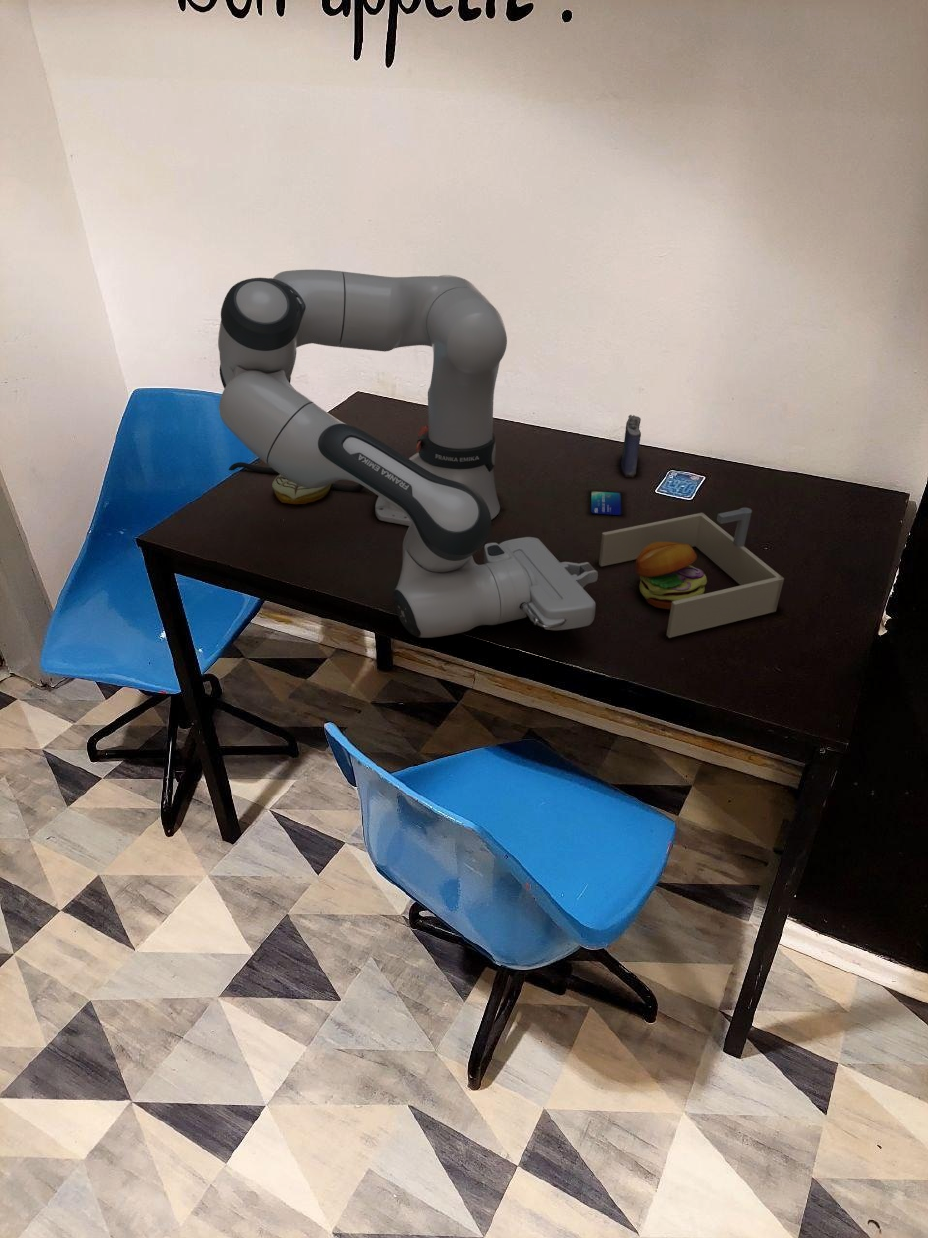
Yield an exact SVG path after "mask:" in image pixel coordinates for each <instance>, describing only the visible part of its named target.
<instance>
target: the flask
mask: <svg viewBox="0 0 928 1238" xmlns="http://www.w3.org/2000/svg"><path fill="white" fill-rule="evenodd" d="M641 421H642V418H641V417H639V416H636V415H634V414H633V415H632V414H629V415H628V419H627V421H626V423H625V429H624V430H625V432H624V439H623V449H622V455H621V462H620V468H621V473H622V474H623V476H624V477H627V478H634V477H635V476H636V475H637V465H638V460H639V459H638V457H639V449H640V444H641V437H642V432H641V430H640V425H641Z"/></svg>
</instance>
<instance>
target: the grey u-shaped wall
mask: <svg viewBox="0 0 928 1238" xmlns="http://www.w3.org/2000/svg"><path fill="white" fill-rule="evenodd" d="M752 513H753V510H752V509H751V508H750V507H741V508H738V509H735V510H729V511H726V512H720V513H717V517H716V522H718V523H719V524H720V525H723V524H729V523H733V522H736V527H735V532H734V536H732V535H730V534H729V532H727V531H726V530H725V529H723V528H722V527H721V526H720V525H718V523H716V522H715V521H713V520H712V519H711V518H709V517H708V516H707V515H706V514H705V513H704V512H697V513H693V514H690V515H689V514H688V515H682V516H678V517H673V518H668V519H663V520H658V521H654V522H653V521H652V522H649V523H644V524H640V525H639V524H638V525H634V526H629V527H624V528H619V529H614V530H609V531H603V532H602V533H601V541H600V550H599V558H598V565H599V566H600V567H607V566H610V565H615V564H619V563H620V564H621V563H624V562H629V561H633V560H637V558H638V556H639V554H640V553H641V551H642V550H643V549H644V548H645V547H646V546H648V545H649V544H652V543H655V542H673V543H682V544H688V545H690V546H691V547H692V548H694V547H696V548H697V549H698V550H699V551H700V552H701V553H703V555H704V556H706V557H707V558H708V559H709V560H710V561H712V562H713V564H715V565H716V566H717V567H719V568H720V569H721V570H722V571H723V572H724V573H726V574H727V575H728V576H729V577H730V578H731V579H732V580H733V581H735V582H736V583H737V584H738V585H736V586H733V587H728V588H724V589H720V590H716V591H711V592H707V593H704V594H702V595H698V596H694V597H689V598H685V599H681V600H677V601H672V604H671V610H670V609H669V615H668V616H669V617H668V623H667V629H666V633H665V634H666V637H667V638H669V639H671V638H675V637H679V636H684V635H686V634H690V633H695V632H699V631H703V630H707V629H711V628H715V627H720V626H723V625H727V624H731V623H735V622H738V621H743V620H747V619H748V620H749V619H752V618H755V617H759V616H763V615H769V614H772V613H776V612H777V609H778V604H779V601H780V597H781V593H782V589H783V585H784V581H785V578H784V577H783V576H782V575H781V574H779V573H778V572H777V571H776V570H774V569H773V568H772V567H771V566H769V565H768V564H767V563H765V562H764V561H763V560H762V559H761V558H759V556H757V555H756V554H754V553H753V552H752V551H750V550H749V549H748V548H747V547H746V541H747V537H748V532H749V527H750V523H751V518H752Z"/></svg>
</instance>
